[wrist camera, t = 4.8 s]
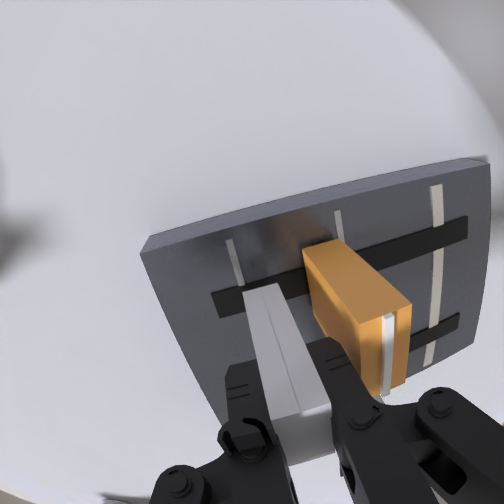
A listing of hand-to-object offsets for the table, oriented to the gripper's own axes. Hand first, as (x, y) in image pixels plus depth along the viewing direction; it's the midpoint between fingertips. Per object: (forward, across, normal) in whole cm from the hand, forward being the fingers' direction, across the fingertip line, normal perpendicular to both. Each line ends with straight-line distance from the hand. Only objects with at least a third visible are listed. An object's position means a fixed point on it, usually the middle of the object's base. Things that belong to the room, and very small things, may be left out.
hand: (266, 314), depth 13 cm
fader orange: (+2, +3, 0) cm, 4 cm away
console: (+4, +5, -3) cm, 8 cm away
